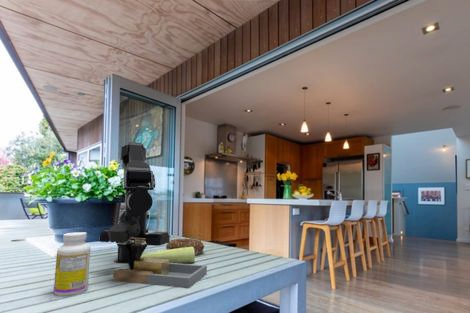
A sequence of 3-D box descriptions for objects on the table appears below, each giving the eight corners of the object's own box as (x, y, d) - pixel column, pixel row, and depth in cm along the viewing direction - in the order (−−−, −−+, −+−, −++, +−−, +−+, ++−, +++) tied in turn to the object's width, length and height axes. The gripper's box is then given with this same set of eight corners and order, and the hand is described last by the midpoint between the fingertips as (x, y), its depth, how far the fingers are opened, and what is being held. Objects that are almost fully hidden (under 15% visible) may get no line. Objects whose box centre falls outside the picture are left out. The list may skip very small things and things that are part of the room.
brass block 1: (133, 276, 73) (134, 260, 74) (142, 272, 77) (143, 257, 77) (146, 278, 72) (147, 262, 73) (155, 273, 76) (155, 258, 76)
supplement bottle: (63, 287, 65) (67, 231, 67) (92, 287, 66) (96, 231, 68) (46, 298, 59) (52, 235, 60) (79, 297, 59) (84, 235, 61)
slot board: (112, 281, 70) (113, 271, 70) (140, 269, 82) (141, 260, 82) (146, 285, 68) (147, 274, 68) (170, 271, 79) (170, 262, 79)
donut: (159, 256, 98) (159, 242, 99) (175, 249, 111) (176, 236, 112) (197, 259, 95) (197, 244, 95) (209, 251, 108) (210, 238, 109)
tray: (146, 285, 68) (147, 274, 68) (170, 271, 79) (170, 262, 79) (188, 289, 65) (188, 278, 65) (206, 274, 76) (206, 265, 77)
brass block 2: (146, 278, 72) (147, 262, 73) (155, 273, 76) (155, 258, 76) (160, 279, 71) (161, 263, 72) (168, 275, 75) (169, 259, 75)
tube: (193, 241, 91) (129, 247, 85) (195, 251, 87) (128, 258, 80) (192, 255, 93) (129, 262, 87) (194, 266, 88) (128, 274, 82)
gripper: (86, 211, 72) (81, 274, 70) (149, 214, 67) (146, 282, 65) (115, 209, 83) (111, 264, 81) (171, 211, 78) (169, 269, 76)
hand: (132, 269), depth 76 cm, fingers closed
